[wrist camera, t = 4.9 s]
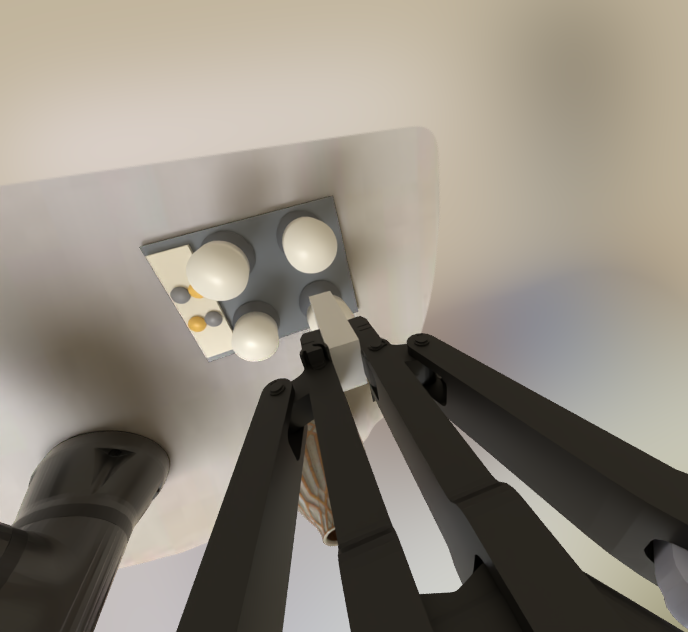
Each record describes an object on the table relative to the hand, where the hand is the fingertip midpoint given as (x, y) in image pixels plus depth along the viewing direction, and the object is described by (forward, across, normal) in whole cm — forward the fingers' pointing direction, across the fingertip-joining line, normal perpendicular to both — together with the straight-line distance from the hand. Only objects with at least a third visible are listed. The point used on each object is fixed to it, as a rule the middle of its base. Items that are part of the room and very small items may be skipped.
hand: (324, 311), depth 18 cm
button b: (+14, -8, +2) cm, 16 cm away
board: (+17, -5, -2) cm, 18 cm away
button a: (+16, -8, -7) cm, 19 cm away
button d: (+14, +1, +2) cm, 15 cm away
